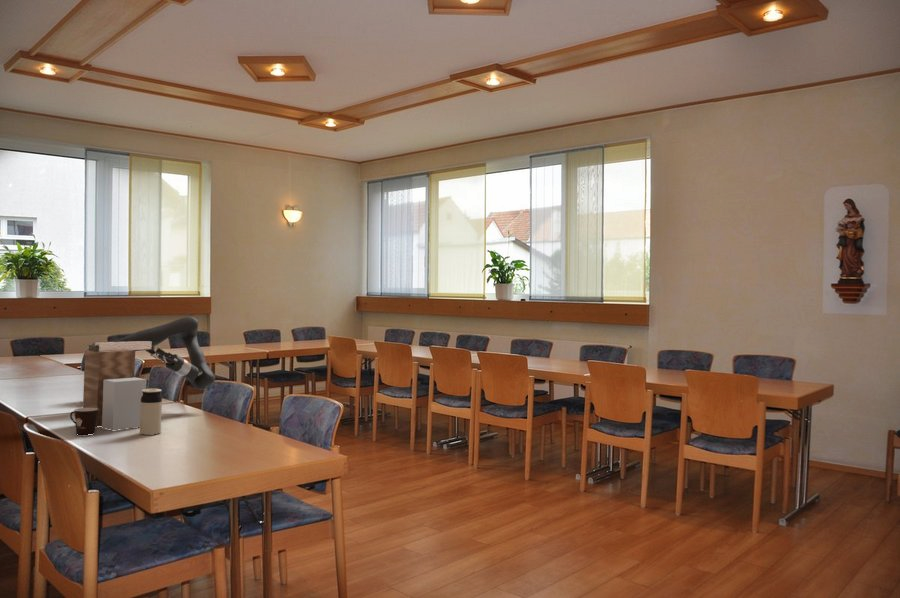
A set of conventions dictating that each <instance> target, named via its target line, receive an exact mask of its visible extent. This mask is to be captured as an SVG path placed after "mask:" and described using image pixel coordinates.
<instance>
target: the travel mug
mask: <svg viewBox="0 0 900 598" xmlns="http://www.w3.org/2000/svg"><path fill="white" fill-rule="evenodd" d="M142 392H143V395H142V397H141V410H140V428H139V434H140V435H142V434H146V435H145V436H151V435H150V434H156V435H159V434H160V433H162V410H163V409H162V407H163V406H162V405H163V404H162V403H163V397H162V395H161V393H162V389H160V388H146V389H144V390H142ZM158 433H159V434H158Z"/></svg>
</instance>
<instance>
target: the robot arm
mask: <svg viewBox="0 0 900 598" xmlns="http://www.w3.org/2000/svg"><path fill="white" fill-rule="evenodd" d="M198 330H199V321H198V319H197V318H196V317H194V316H184V317H181V318H178V319H176V320H173V321H171V322H168V323H164V324H161V325H157V326H153V327H151V328H150V327H149V328H146V329H142V330H139V331H136V332H134V333H133V332H132V333H130V334H129V335H126V336H125V337H122V338H119V339H116V340H110V341H109V342H133V341H151V342H152V347H151V349H145V352H147V353H148V354H150V356H151V357H153V358H154V359H157V360H158V361H159V362H163V363H165V368H166V369H168V370H170V371H172V372H173V373H175V374H177V375H179V376H181V377H182V378H184V379H186V380H188V381H189V383H190V384H192V386H193V387H194V388H195V389H196V390H198V391H202V390H205V389H207V388H208V387H210V386H212V385H213V384H214V383H215V381H216V376H215V373H213V371H212V370H211V368H210V366H209V365H208V362H207V360H206V359H207V358H206V357H205V354H204V351H203V350H202V349H201V347H200V344H199V341H198ZM175 335H179V336H180V339H181V340H182V343H183V344H184V346H185V349H186V351H187V354H188V356H189V360H190V361H188V360H187V359H185V358H183V357H182V356H180V355H179V354H176V353H174V354H172V352H168V351H165V350H163V349H161V348H160V347H157V348H156V350H155V349H153V347H155V346H158V345H160V344H161V343H163V342H164V341H166V340H167V339H168V338H170V337H173V336H175ZM100 342H101V341H95V342H93V343H92V344H91V345H95V343H100ZM134 351H135V352H137V351H138V352H139V351H140V350H134ZM200 373H201V374H200ZM206 386H207V387H206Z"/></svg>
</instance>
